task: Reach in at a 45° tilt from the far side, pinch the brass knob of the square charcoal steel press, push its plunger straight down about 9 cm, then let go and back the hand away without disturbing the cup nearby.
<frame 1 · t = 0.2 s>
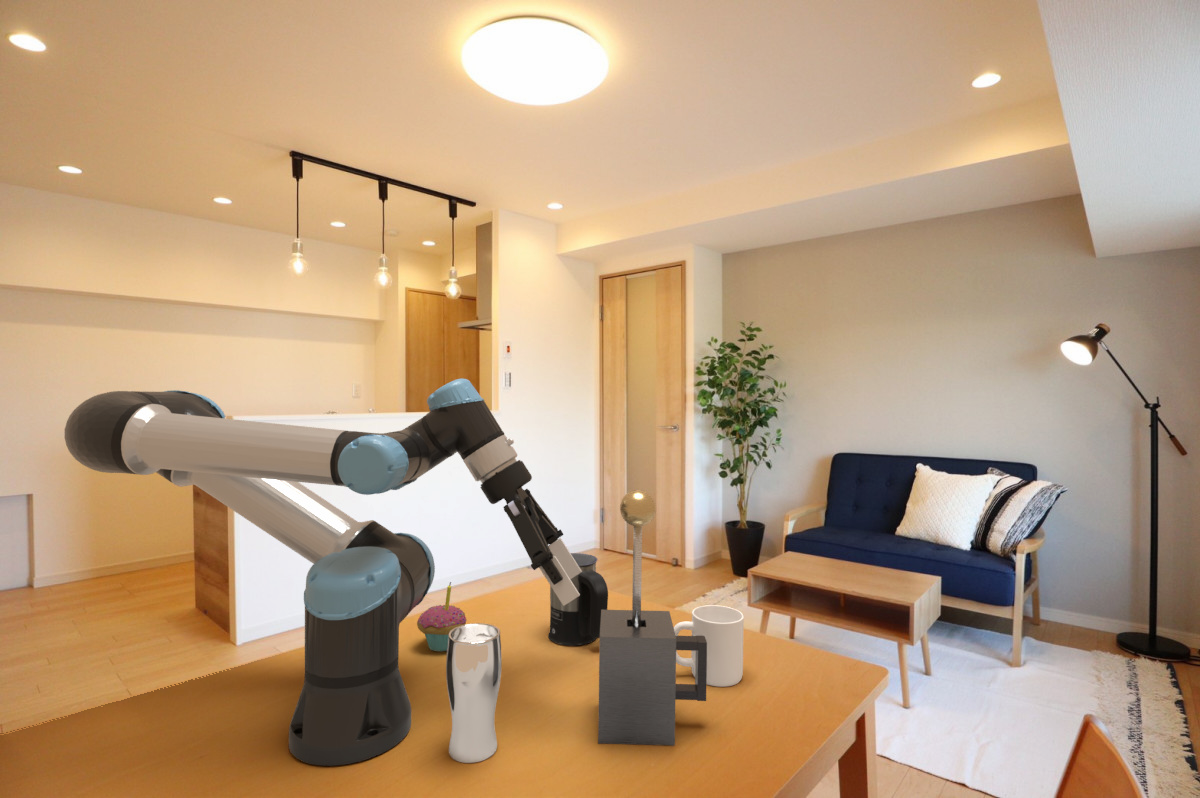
hand: (573, 587, 93), 16 cm above the table, tool tilted 35°, fingers open, 13 cm apart
milk frother: (593, 635, 115), on the table
plunger: (637, 568, 84), point 22 cm above the table, slide at 0.0 cm
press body: (635, 723, 84), on the table
cupcake: (441, 647, 109), on the table
cup: (705, 677, 99), on the table
beer glass: (473, 750, 77), on the table
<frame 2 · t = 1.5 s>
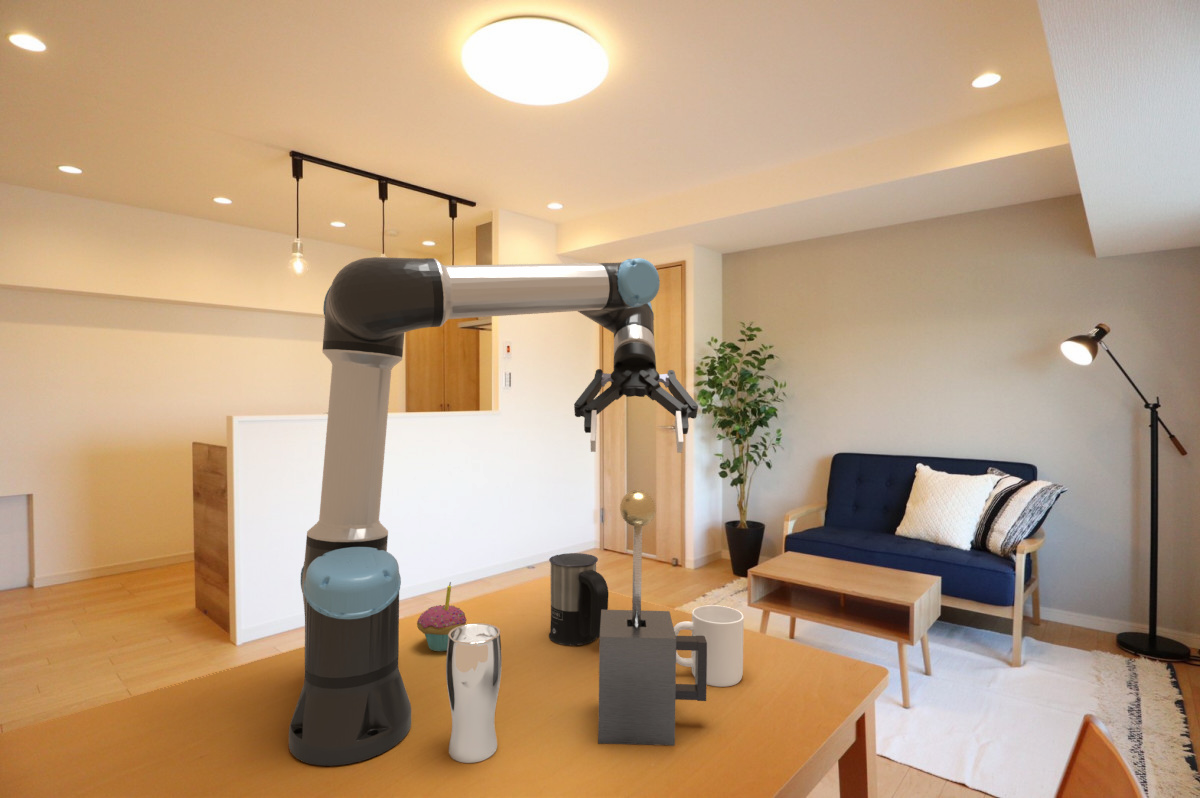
hand: (636, 447, 94), 38 cm above the table, tool tilted 45°, fingers open, 13 cm apart
nothing on the table moved.
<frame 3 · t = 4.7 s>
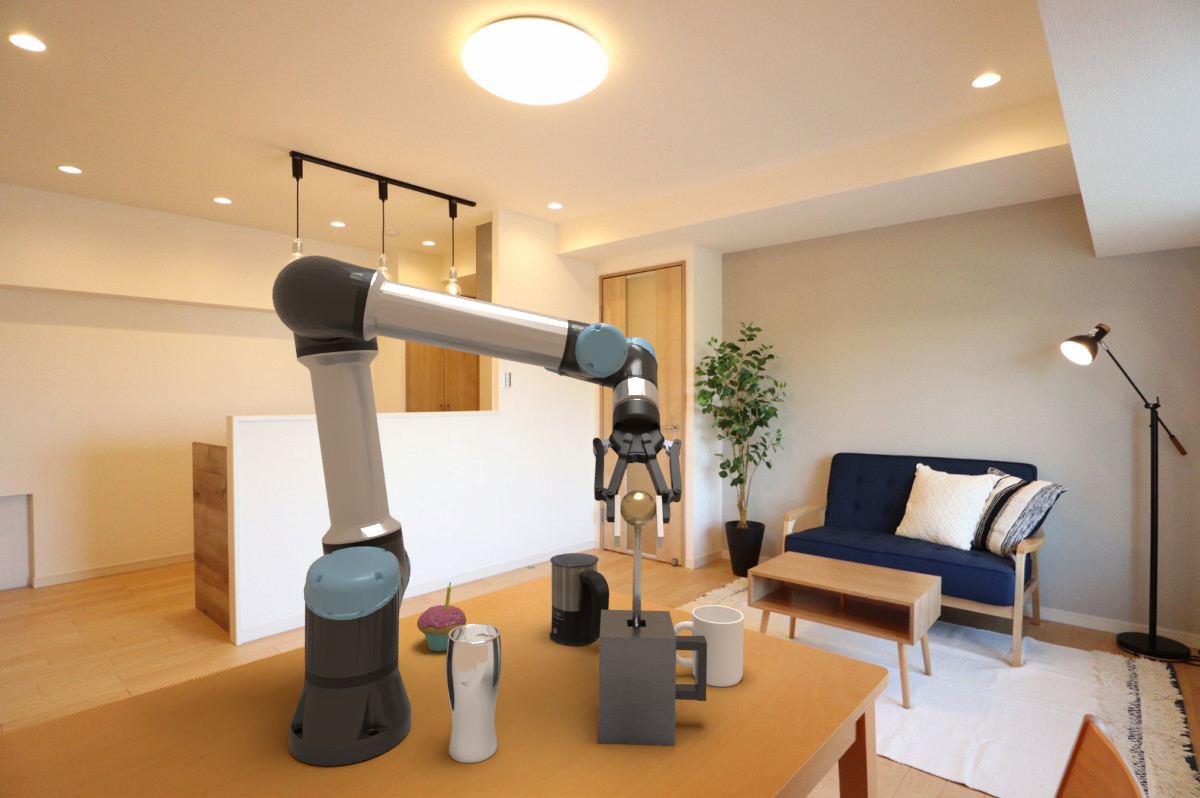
hand: (638, 541, 80), 26 cm above the table, tool tilted 45°, fingers closed on plunger, 5 cm apart
plunger: (637, 569, 84), point 22 cm above the table, slide at 0.0 cm, touching gripper
everything else where it was.
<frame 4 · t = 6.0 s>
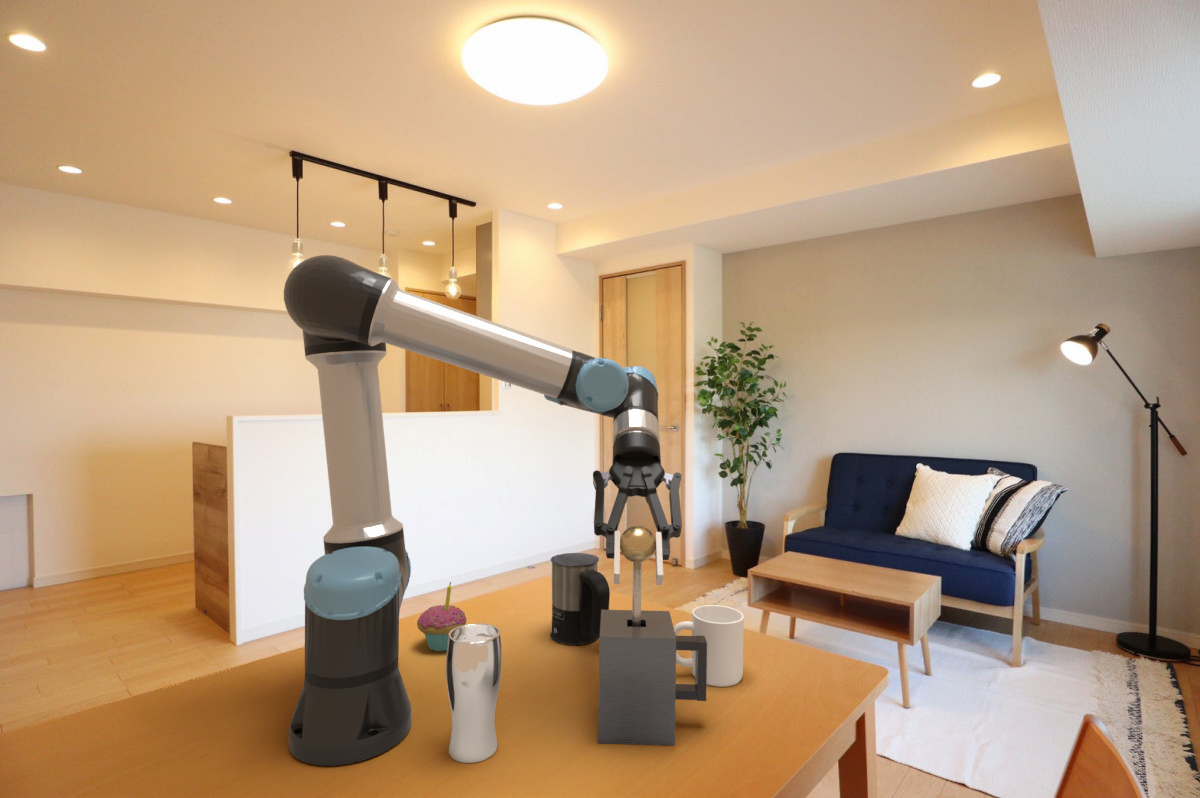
hand: (638, 579, 80), 21 cm above the table, tool tilted 45°, fingers closed on plunger, 5 cm apart
plunger: (636, 604, 84), point 17 cm above the table, slide at 5.0 cm, touching gripper
everything else where it was.
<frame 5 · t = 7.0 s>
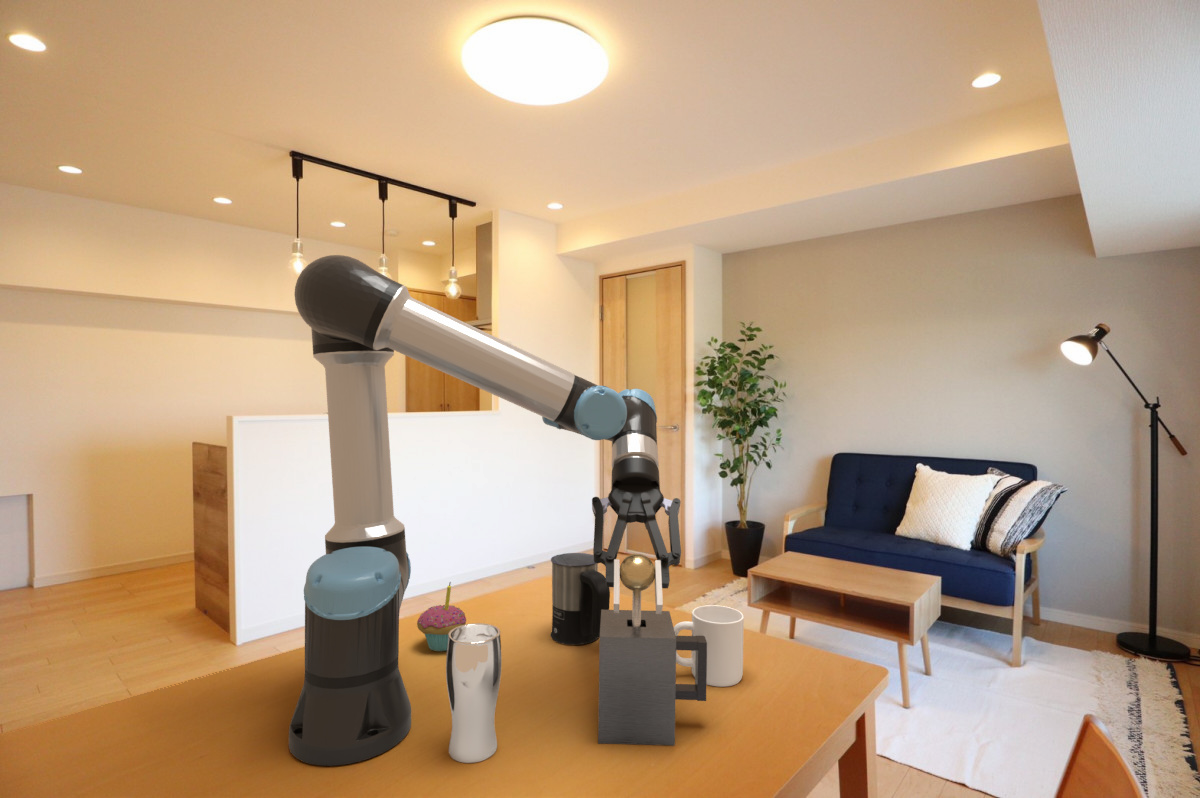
hand: (637, 608, 80), 17 cm above the table, tool tilted 45°, fingers closed on plunger, 5 cm apart
plunger: (636, 633, 84), point 13 cm above the table, slide at 8.9 cm, touching gripper
everything else where it was.
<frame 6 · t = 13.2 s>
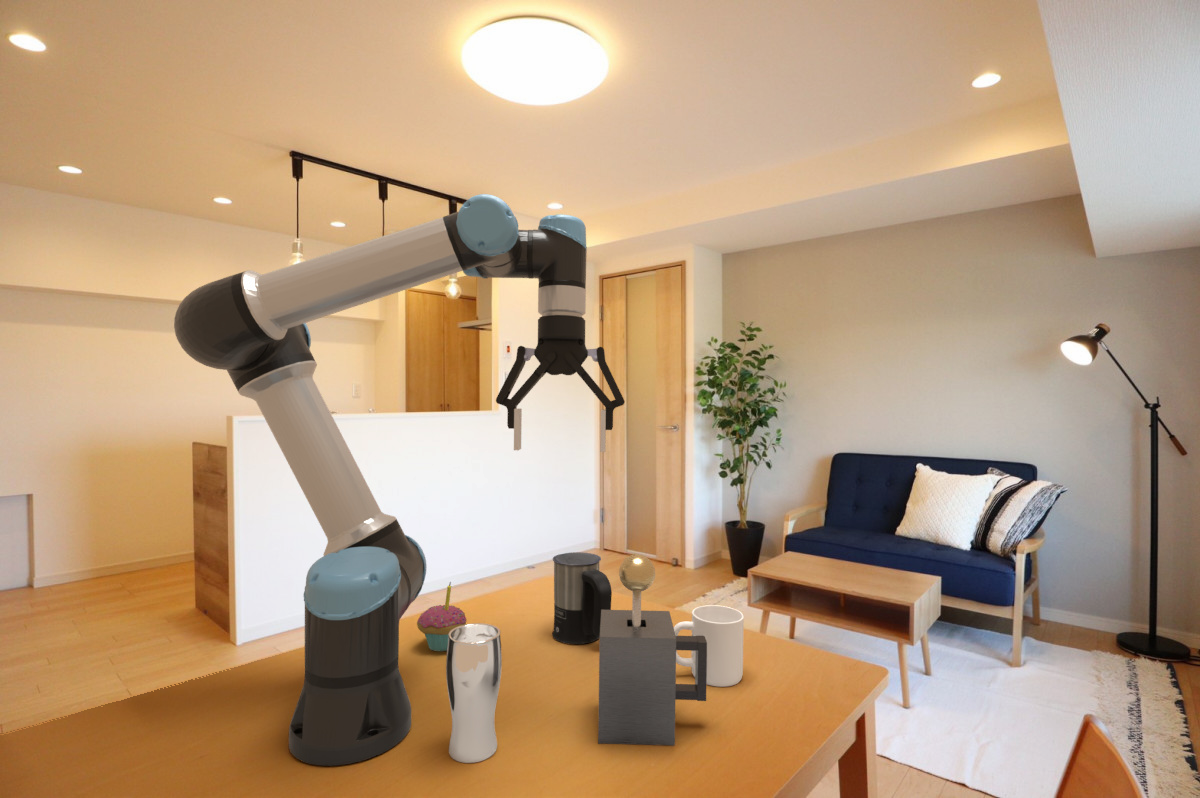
hand: (560, 450, 96), 37 cm above the table, tool pointing down, fingers open, 13 cm apart
plunger: (636, 633, 84), point 13 cm above the table, slide at 9.0 cm
everything else where it was.
at the end: plunger slide at 9.0 cm; the gripper is holding nothing; cup moved 0.2 cm from its start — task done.
